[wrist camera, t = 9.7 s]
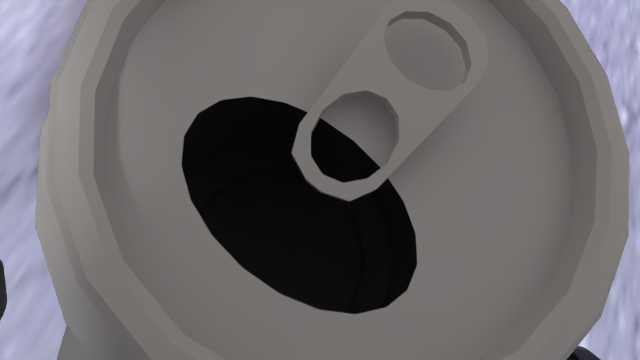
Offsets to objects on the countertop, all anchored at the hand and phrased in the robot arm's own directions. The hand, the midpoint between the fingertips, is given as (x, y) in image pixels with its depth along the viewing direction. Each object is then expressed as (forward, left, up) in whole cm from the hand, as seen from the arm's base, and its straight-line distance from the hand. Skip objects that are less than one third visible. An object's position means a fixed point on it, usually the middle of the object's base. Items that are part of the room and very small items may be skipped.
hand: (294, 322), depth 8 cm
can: (+2, 0, -8) cm, 9 cm away
